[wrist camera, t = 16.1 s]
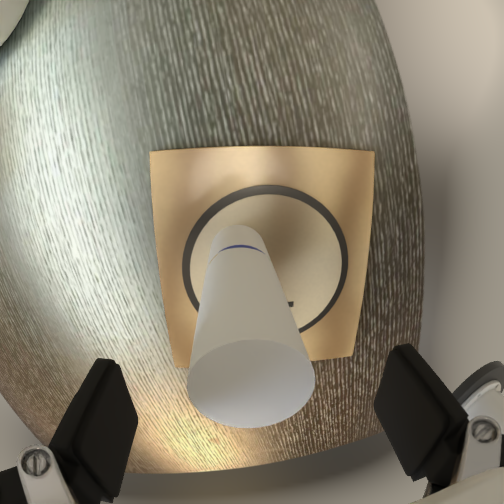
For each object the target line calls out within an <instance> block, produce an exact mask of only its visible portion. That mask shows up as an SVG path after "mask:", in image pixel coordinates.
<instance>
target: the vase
mask: <svg viewBox="0 0 504 504" xmlns="http://www.w3.org/2000/svg"><path fill="white" fill-rule="evenodd" d="M28 2H29V0H0V46H1V45H2V44H3V43H4V42H5V41H6V40H7V38H8V37H9V36H10V34H11V33H12V31H13V30H14V29H15V27H16V25H17V24H18V22H19V20H20V19H21V17H22V15H23V13H24V11H25V9H26V6H27V4H28Z"/></svg>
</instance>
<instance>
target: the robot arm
mask: <svg viewBox="0 0 504 504" xmlns="http://www.w3.org/2000/svg"><path fill="white" fill-rule="evenodd" d="M500 391H501V384H500V383H499V381H497V380H492V381H489V382H487V383H485V384H484V385H482V386H481V387H480V388H478V389H477V390H476V391H475V392H474V393H473V394H472V395H471V396H470V397H468V398H467V400H466V401H465V402H464V403H463V404H462V405H460V403H459V402H458V401H457V400H456V398H455V397H454V396H453V394H452V393H451V392H450V391H449V390H448V388H447V387H446V386H445V385H444V383H443V382H442V381H441V380H440V378H439V377H438V376H437V375H436V373H435V372H434V371H433V370H432V369H431V367H430V366H429V365H428V364H427V363H426V361H425V360H424V359H423V358H422V357H421V355H420V354H419V353H418V352H417V351H416V349H415V348H414V347H413V346H412V345H411V344H403V345H398V346H395V347H394V348H393V350H392V351H390V352H389V355H388V359H387V362H386V366H385V369H384V372H383V376H382V379H381V382H380V385H379V388H378V391H377V394H376V397H375V400H374V410H375V413H376V415H377V417H378V419H379V421H380V423H381V425H382V427H383V429H384V430H385V432H386V434H387V436H388V439H389V441H390V442H391V445H392V446H393V449H394V451H395V453H396V455H397V457H398V459H399V461H400V463H401V465H402V467H403V469H404V471H405V473H406V475H407V476H411V478H412V480H413V482H414V481H416V480H419V479H421V478H424V477H427V479H428V484H427V487H426V490H425V493H424V496H423V498H422V499H420V500H418V501H415V502H413V503H410V504H504V396H503V395H502V394H501V392H500ZM137 425H138V415H137V413H136V410H135V408H134V405H133V402H132V400H131V397H130V394H129V391H128V389H127V386H126V383H125V380H124V377H123V374H122V371H121V368H120V365H119V364H116V363H115V361H114V360H112V359H102V358H98V359H96V361H95V362H94V364H93V366H92V368H91V369H90V371H89V373H88V374H87V376H86V378H85V380H84V381H83V383H82V385H81V387H80V389H79V390H78V392H77V393H76V394H75V396H74V398H73V399H72V401H71V403H70V405H69V407H68V409H67V411H66V412H65V414H64V416H63V418H62V420H61V422H60V424H59V426H58V428H57V430H56V432H55V434H54V436H53V438H52V440H51V442H50V444H49V446H48V448H47V447H45V446H43V445H37V444H36V445H30V446H28V447H26V448H25V449H23V450H22V451H21V452H20V454H19V456H18V459H17V466H16V467H13V468H10V469H7V470H4V471H1V472H0V504H100V501H105V502H109V503H113V499H114V497H118V495H119V492H120V488H121V484H122V480H123V476H124V472H125V469H126V465H127V461H128V457H129V454H130V450H131V446H132V443H133V439H134V436H135V432H136V429H137Z"/></svg>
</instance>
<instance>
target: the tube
mask: <svg viewBox="0 0 504 504" xmlns="http://www.w3.org/2000/svg"><path fill="white" fill-rule="evenodd" d="M314 386H315V374H314V369H313V367H312V364H311V361H310V359H309V356H308V354H307V351H306V348H305V346H304V343H303V341H302V338H301V335H300V333H299V330H298V328H297V325H296V323H295V320H294V317H293V315H292V312H291V310H290V307H289V305H288V302H287V300H286V297H285V294H284V292H283V289H282V287H281V284H280V282H279V279H278V277H277V274H276V272H275V269H274V267H273V264H272V262H271V259H270V257H269V254H268V252H267V249H266V247H265V244H264V242H263V240H262V238H261V236H260V235H259V234H258V233H257V232H256V231H255V230H254V229H252V228H250V227H248V226H245V225H232V226H228V227H226V228H224V229H222V230H221V231H220V232H219V233H218V234H217V235H216V236H215V237H214V239H213V241H212V244H211V248H210V253H209V258H208V263H207V269H206V274H205V279H204V284H203V290H202V295H201V301H200V306H199V312H198V317H197V323H196V329H195V335H194V341H193V347H192V353H191V359H190V366H189V372H188V379H187V391H188V395H189V398H190V400H191V402H192V403H193V405H194V406H195V407H196V409H197V410H198V411H199V412H200V413H202V414H203V415H204V416H206V417H207V418H209V419H211V420H213V421H215V422H217V423H220V424H223V425H226V426H231V427H236V428H257V427H264V426H268V425H272V424H275V423H278V422H281V421H283V420H285V419H287V418H289V417H291V416H292V415H294V414H295V413H296V412H298V411H299V410H300V409H301V408H302V407H303V406H304V405H305V404H306V403H307V401H308V400H309V398H310V397H311V395H312V392H313V390H314Z"/></svg>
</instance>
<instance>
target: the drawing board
mask: <svg viewBox="0 0 504 504" xmlns="http://www.w3.org/2000/svg"><path fill="white" fill-rule="evenodd" d="M374 159H375V152H374V151H364V150H353V149H339V148H323V147H300V146H225V147H202V148H185V149H172V150H160V151H150V175H151V193H152V207H153V219H154V230H155V240H156V250H157V259H158V267H159V275H160V282H161V289H162V296H163V303H164V309H165V316H166V322H167V328H168V333H169V339H170V344H171V349H172V355H173V360H174V365H175V367H182V368H189V366H190V359H191V353H192V347H193V341H194V335H195V329H196V323H197V317H198V312H199V306H200V301H201V295H202V290H203V284H204V279H205V274H206V269H207V263H208V258H209V253H210V248H211V244H212V241H213V239H214V237H215V236H216V235H217V234H218V233H219V232H220V231H221V230H222V229H224V228H226V227H228V226H232V225H245V226H248V227H250V228H252V229H254V230H255V231H256V232H257V233H258V234H259V235H260V236H261V238H262V240H263V242H264V244H265V247H266V249H267V252H268V254H269V257H270V259H271V262H272V264H273V267H274V269H275V272H276V274H277V277H278V279H279V282H280V284H281V287H282V289H283V292H284V294H285V297H286V300H287V302H288V305H289V307H290V310H291V312H292V315H293V317H294V320H295V323H296V325H297V328H298V330H299V333H300V335H301V338H302V341H303V343H304V346H305V348H306V351H307V354H308V356H309V359H310V361H316V360H325V359H332V358H340V357H347V356H352V354H353V349H354V345H355V339H356V334H357V329H358V323H359V318H360V312H361V306H362V299H363V293H364V286H365V278H366V271H367V262H368V254H369V244H370V234H371V222H372V208H373V190H374Z"/></svg>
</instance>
